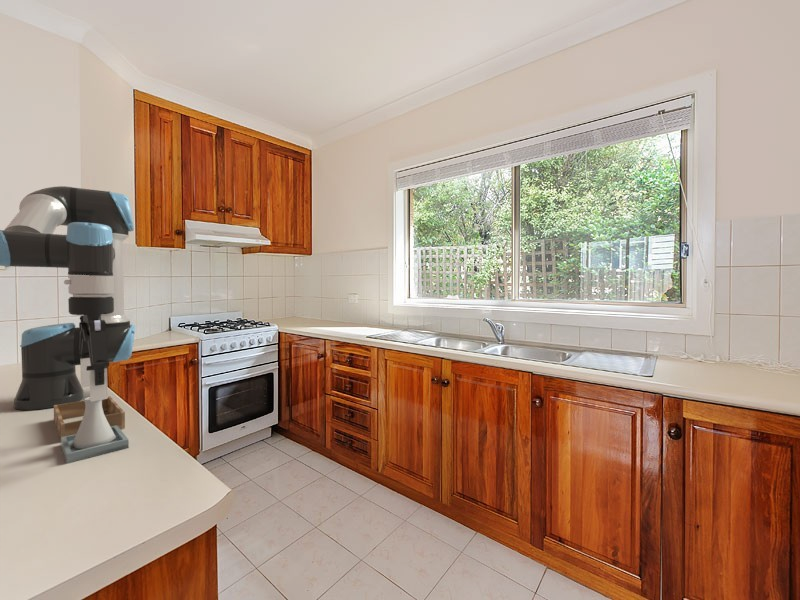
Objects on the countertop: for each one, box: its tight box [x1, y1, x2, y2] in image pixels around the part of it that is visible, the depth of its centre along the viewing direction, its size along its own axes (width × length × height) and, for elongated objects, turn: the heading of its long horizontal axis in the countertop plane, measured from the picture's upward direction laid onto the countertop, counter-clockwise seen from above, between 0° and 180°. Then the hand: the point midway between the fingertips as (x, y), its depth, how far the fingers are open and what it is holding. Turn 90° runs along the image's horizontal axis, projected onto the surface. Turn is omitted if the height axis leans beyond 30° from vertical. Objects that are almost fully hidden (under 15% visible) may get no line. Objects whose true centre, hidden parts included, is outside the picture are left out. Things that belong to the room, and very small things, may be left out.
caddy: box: [53, 395, 126, 440], centre depth 93 cm, size 19×12×4 cm, turn 47°
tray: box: [60, 425, 129, 464], centre depth 81 cm, size 12×10×2 cm
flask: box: [71, 396, 116, 449], centre depth 80 cm, size 7×7×10 cm
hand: (93, 392), depth 81 cm, fingers open, 13 cm apart
